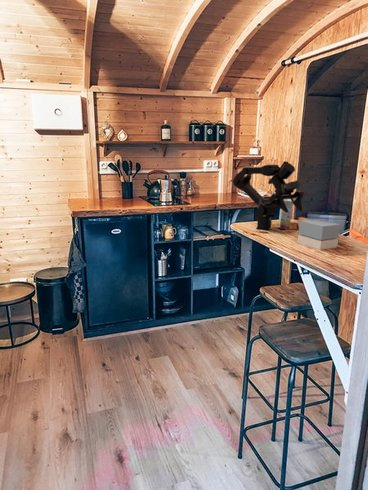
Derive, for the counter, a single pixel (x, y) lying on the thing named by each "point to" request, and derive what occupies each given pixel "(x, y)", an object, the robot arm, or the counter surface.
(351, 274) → the counter surface
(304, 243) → the carton base
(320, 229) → the grey boxy piece
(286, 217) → the snack box
